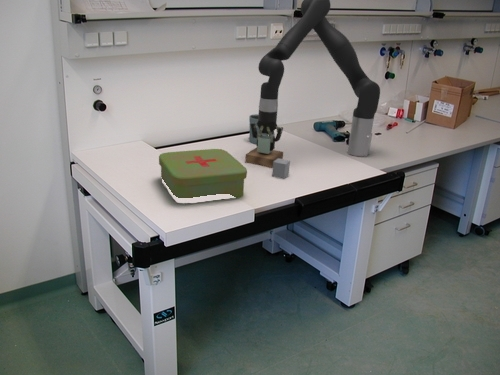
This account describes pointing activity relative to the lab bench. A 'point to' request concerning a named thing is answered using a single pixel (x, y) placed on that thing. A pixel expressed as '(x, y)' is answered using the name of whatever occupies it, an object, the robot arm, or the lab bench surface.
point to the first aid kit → (202, 173)
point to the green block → (264, 144)
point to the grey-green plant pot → (255, 119)
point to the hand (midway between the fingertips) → (265, 149)
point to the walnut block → (263, 158)
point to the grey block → (281, 168)
